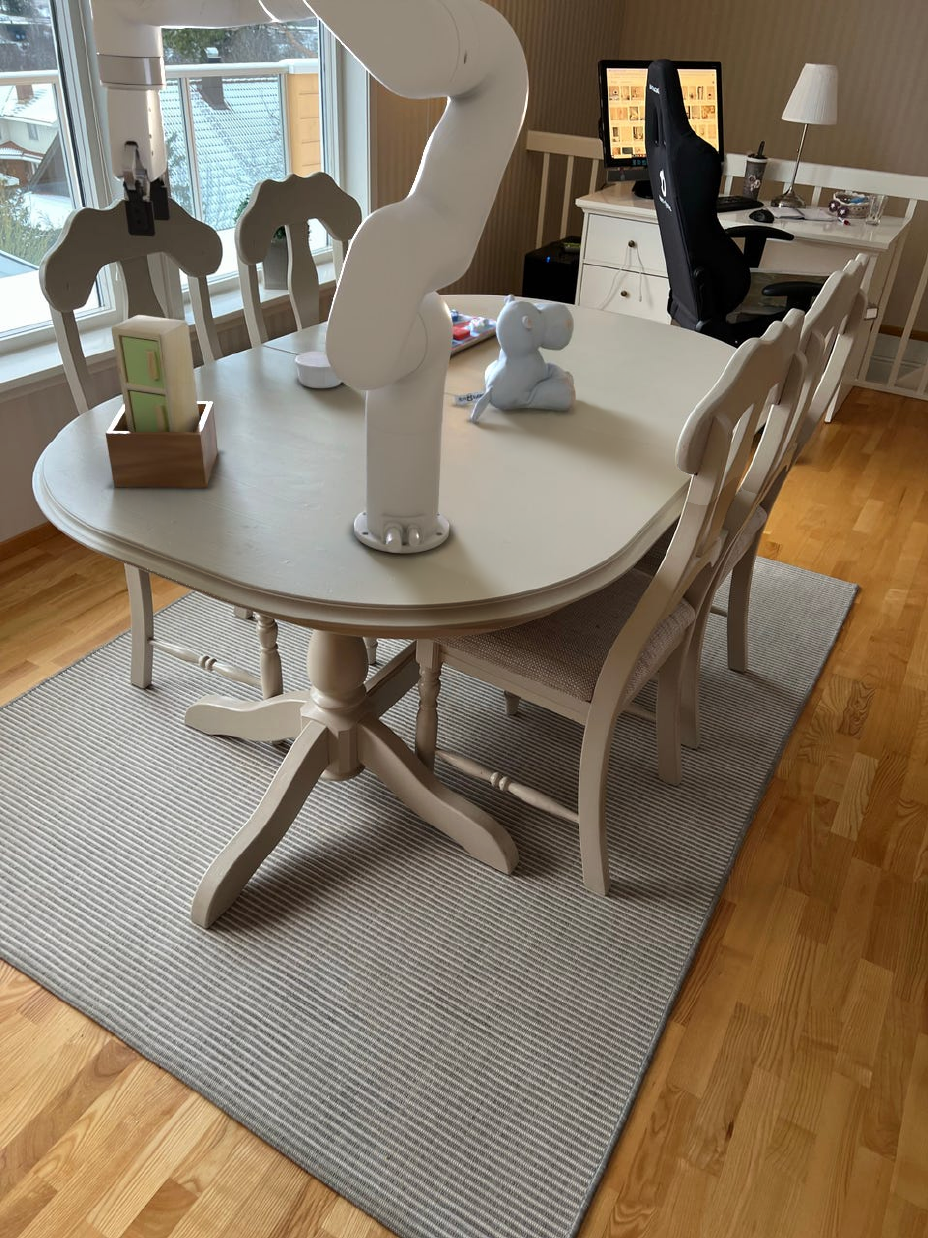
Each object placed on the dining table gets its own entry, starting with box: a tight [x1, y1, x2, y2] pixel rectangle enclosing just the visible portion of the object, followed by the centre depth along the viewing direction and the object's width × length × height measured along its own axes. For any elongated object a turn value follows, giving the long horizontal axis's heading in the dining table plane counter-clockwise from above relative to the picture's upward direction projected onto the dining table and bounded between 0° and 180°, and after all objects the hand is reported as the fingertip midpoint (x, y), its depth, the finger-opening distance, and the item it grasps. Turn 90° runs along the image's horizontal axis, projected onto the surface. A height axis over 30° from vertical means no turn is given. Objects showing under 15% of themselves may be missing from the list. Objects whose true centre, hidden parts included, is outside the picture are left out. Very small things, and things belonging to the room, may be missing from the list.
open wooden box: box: [105, 401, 219, 489], centre depth 135 cm, size 13×13×8 cm
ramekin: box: [294, 350, 343, 389], centre depth 170 cm, size 9×9×4 cm
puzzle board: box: [449, 309, 497, 357], centre depth 198 cm, size 30×23×3 cm
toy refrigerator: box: [111, 314, 200, 433], centre depth 131 cm, size 8×7×21 cm
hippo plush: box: [454, 294, 577, 422], centre depth 164 cm, size 18×23×18 cm
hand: (150, 227), depth 120 cm, fingers open, 9 cm apart
